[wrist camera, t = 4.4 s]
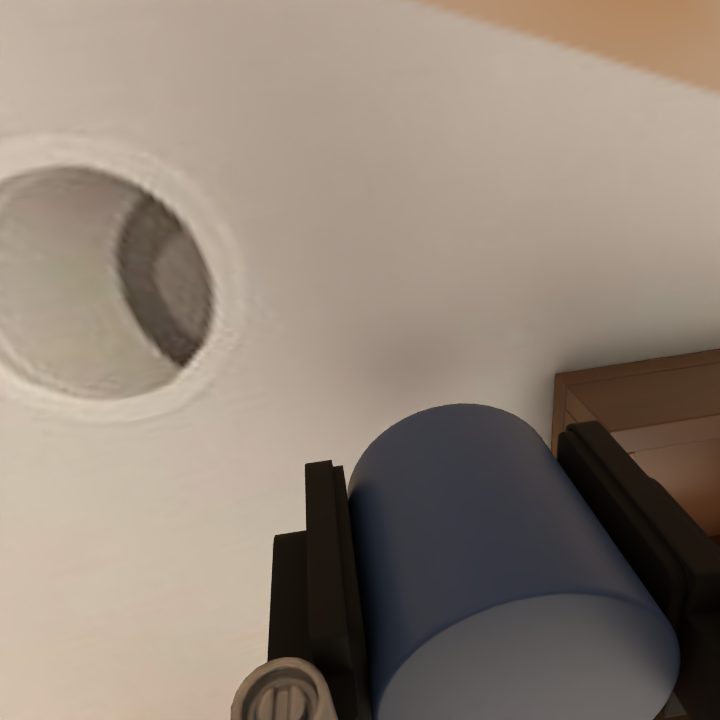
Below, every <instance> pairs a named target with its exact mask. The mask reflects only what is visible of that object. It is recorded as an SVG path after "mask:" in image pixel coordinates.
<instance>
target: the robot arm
mask: <svg viewBox="0 0 720 720" xmlns="http://www.w3.org/2000/svg"><path fill="white" fill-rule="evenodd" d="M556 460H557V461H558V463H559V464H560V465H561V467H562V468H563V470H564V471H565V473H566V474H567V475H568V477H569V478H570V480H571V481H572V483H573V484H574V486H575V487H576V488H577V490H578V491H579V493H580V494H581V496H582V497H583V498H584V500H585V501H586V503H587V504H588V506H589V507H590V508H591V510H592V511H593V513H594V514H595V516H596V517H597V519H598V520H599V521H600V523H601V524H602V526H603V527H604V529H605V530H606V531H607V533H608V534H609V536H610V537H611V539H612V540H613V542H614V543H615V544H616V546H617V547H618V549H619V550H620V552H621V553H622V554H623V556H624V557H625V559H626V560H627V562H628V563H629V564H630V566H631V567H632V569H633V570H634V572H635V573H636V575H637V576H638V577H639V579H640V580H641V582H642V583H643V585H644V586H645V587H646V589H647V590H648V592H649V593H650V595H651V596H652V598H653V599H654V600H655V602H656V603H657V605H658V606H659V608H660V609H661V610H662V612H663V613H664V615H665V616H666V618H667V619H668V620H669V622H670V624H671V626H672V627H673V629H674V631H675V633H676V636H677V640H678V643H679V647H680V658H681V664H680V671H679V676H678V679H677V682H676V685H675V688H674V689H673V691H672V693H671V695H670V697H669V699H668V701H667V702H666V703H665V705H664V706H663V708H662V709H661V711H660V714H661V716H662V717H663V719H664V718H670V717H675V716H681V715H688V716H689V718H690V720H720V548H719V547H718V546H717V545H716V544H715V543H714V542H713V541H712V539H711V538H710V537H709V536H708V535H707V534H706V533H705V532H704V531H703V530H702V529H701V527H700V526H699V525H698V524H697V523H696V522H695V521H694V520H693V519H692V518H691V517H690V515H689V514H688V513H687V512H686V511H685V510H684V509H683V508H682V507H681V506H680V505H679V503H678V502H677V501H676V500H675V499H674V498H673V497H672V496H671V495H670V494H669V493H668V491H667V490H666V489H665V488H664V487H663V486H662V485H661V484H660V483H659V482H658V481H657V480H655V479H653V478H651V477H649V476H648V475H647V474H646V473H645V472H644V471H643V470H642V469H641V468H640V466H639V465H638V464H637V463H636V462H635V461H634V460H633V459H632V458H631V456H630V455H629V454H628V453H627V452H626V451H625V450H624V449H623V448H622V447H621V445H620V444H619V443H618V442H617V441H616V440H615V439H614V438H613V437H612V435H611V434H610V433H609V432H608V431H607V430H606V429H605V428H604V427H603V425H602V424H601V423H600V422H598V421H596V420H592V421H585V422H579V423H572V424H569V425H567V427H566V430H565V432H561V433H559V435H558V444H557V459H556ZM305 489H306V531H299V532H293V533H287V534H280V535H275V537H274V544H273V563H272V583H271V602H270V622H269V641H268V661H267V663H265V664H263V665H261V666H259V667H258V668H256V669H255V670H254V671H253V672H252V673H251V674H250V675H249V676H248V677H246V678H245V680H244V681H243V683H242V684H241V686H240V687H239V689H238V690H237V692H236V695H235V697H234V700H233V703H232V706H231V720H372V713H371V705H370V695H369V682H370V672H369V664H368V656H367V648H366V640H365V632H364V624H363V616H362V608H361V600H360V592H359V584H358V576H357V568H356V560H355V552H354V544H353V536H352V528H351V520H350V512H349V504H348V497H347V490H346V483H345V477H344V470H343V465H342V466H335V467H333V465H332V460H327V461H320V462H314V463H307V464H305Z"/></svg>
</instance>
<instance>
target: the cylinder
mask: <svg viewBox="0 0 720 720" xmlns="http://www.w3.org/2000/svg"><path fill="white" fill-rule="evenodd" d="M347 497H348V504H349V512H350V520H351V528H352V536H353V544H354V552H355V560H356V568H357V576H358V584H359V592H360V600H361V608H362V616H363V624H364V632H365V640H366V648H367V656H368V664H369V672H370V682H369V695H370V705H371V713H372V720H653V719H654V717H655V716H656V715H657V714H658V713H659V712H660V711H661V709H662V708H663V706H664V705H665V703H666V702H667V701H668V699H669V697H670V695H671V693H672V691H673V689H674V688H675V685H676V682H677V679H678V676H679V671H680V664H681V658H680V647H679V643H678V640H677V636H676V633H675V631H674V629H673V627H672V626H671V624H670V622H669V620H668V619H667V618H666V616H665V615H664V613H663V612H662V610H661V609H660V608H659V606H658V605H657V603H656V602H655V600H654V599H653V598H652V596H651V595H650V593H649V592H648V590H647V589H646V587H645V586H644V585H643V583H642V582H641V580H640V579H639V577H638V576H637V575H636V573H635V572H634V570H633V569H632V567H631V566H630V564H629V563H628V562H627V560H626V559H625V557H624V556H623V554H622V553H621V552H620V550H619V549H618V547H617V546H616V544H615V543H614V542H613V540H612V539H611V537H610V536H609V534H608V533H607V531H606V530H605V529H604V527H603V526H602V524H601V523H600V521H599V520H598V519H597V517H596V516H595V514H594V513H593V511H592V510H591V508H590V507H589V506H588V504H587V503H586V501H585V500H584V498H583V497H582V496H581V494H580V493H579V491H578V490H577V488H576V487H575V486H574V484H573V483H572V481H571V480H570V478H569V477H568V475H567V474H566V473H565V471H564V470H563V468H562V467H561V465H560V464H559V463H558V461H557V460H556V458H555V457H554V455H553V454H552V452H551V451H550V450H549V448H548V447H547V445H546V444H545V442H544V441H543V440H542V438H541V437H540V436H539V435H538V433H537V432H536V431H535V430H534V429H533V428H532V427H531V426H530V425H529V424H527V423H526V422H525V421H523V420H522V419H520V418H519V417H517V416H515V415H513V414H511V413H509V412H506V411H504V410H501V409H498V408H494V407H491V406H486V405H479V404H450V405H443V406H438V407H433V408H430V409H427V410H423V411H420V412H417V413H415V414H413V415H411V416H408V417H406V418H404V419H402V420H401V421H399V422H397V423H396V424H394V425H392V426H391V427H390V428H388V429H387V430H386V431H384V432H383V433H382V434H380V435H379V436H378V437H377V438H376V439H375V440H374V441H373V442H372V443H371V444H370V446H369V447H368V448H367V449H366V450H365V452H364V453H363V454H362V456H361V458H360V459H359V461H358V463H357V464H356V466H355V468H354V471H353V473H352V475H351V478H350V482H349V485H348V491H347Z"/></svg>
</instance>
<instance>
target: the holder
mask: <svg viewBox="0 0 720 720" xmlns="http://www.w3.org/2000/svg"><path fill="white" fill-rule="evenodd" d="M592 420H596V421H598V422H600V423H601V424H602V425H603V427H604V428H605V429H606V430H607V431H608V432H609V433H610V434H611V435H612V437H613V438H614V439H615V440H616V441H617V442H618V443H619V444H620V445H621V447H622V448H623V449H624V450H625V451H626V452H627V453H628V454H629V455H630V456H631V458H632V459H633V460H634V461H635V462H636V463H637V464H638V465H639V466H640V468H641V469H642V470H643V471H644V472H645V473H646V474H647V475H648V476H649V477H651V478H653V479H655V480H657V481H658V482H659V483H660V484H661V485H662V486H663V487H664V488H665V489H666V490H667V491H668V493H669V494H670V495H671V496H672V497H673V498H674V499H675V500H676V501H677V502H678V503H679V505H680V506H681V507H682V508H683V509H684V510H685V511H686V512H687V513H688V514H689V515H690V517H691V518H692V519H693V520H694V521H695V522H696V523H697V524H698V525H699V526H700V527H701V529H702V530H703V531H704V532H705V533H706V534H707V535H708V536H709V537H710V538H711V539H712V541H713V542H714V543H715V544H716V545H717V546H718V547H719V548H720V349H719V350H713V351H706V352H699V353H693V354H686V355H680V356H673V357H667V358H660V359H654V360H647V361H641V362H634V363H628V364H621V365H614V366H608V367H601V368H595V369H588V370H582V371H575V372H569V373H562V374H557V375H556V376H555V394H554V413H553V431H552V450H551V452H552V454H553V455H554V457H555V458H556V459H557V444H558V435H559V433H561V432H565V430H566V427H567V425H569V424H572V423H579V422H585V421H592ZM653 720H690V718H689V716H688V715H681V716H675V717H670V718H664V719H663V717H662V716H661V714H660V712H659V713H658V714H657V715H656V716H655V717H654V719H653Z"/></svg>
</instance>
